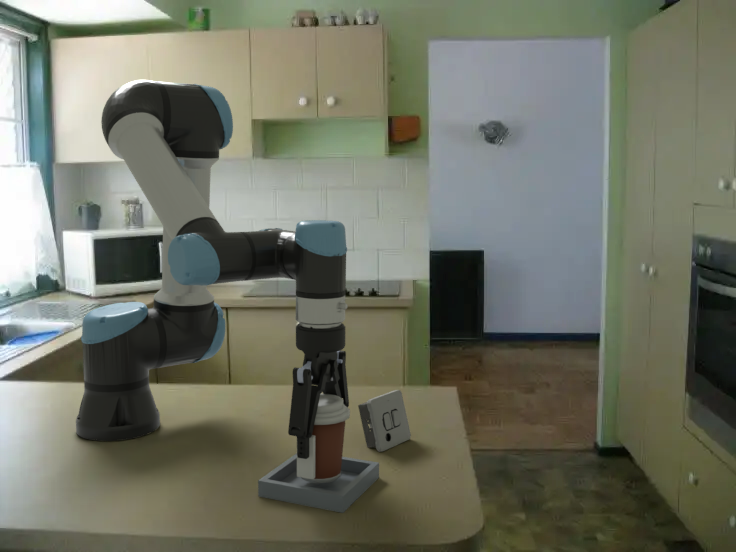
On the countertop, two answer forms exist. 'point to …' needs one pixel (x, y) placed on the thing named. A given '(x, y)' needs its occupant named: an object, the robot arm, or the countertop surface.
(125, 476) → the countertop surface
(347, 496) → the dock tray
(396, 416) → the electrical switch
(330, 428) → the coffee cup
